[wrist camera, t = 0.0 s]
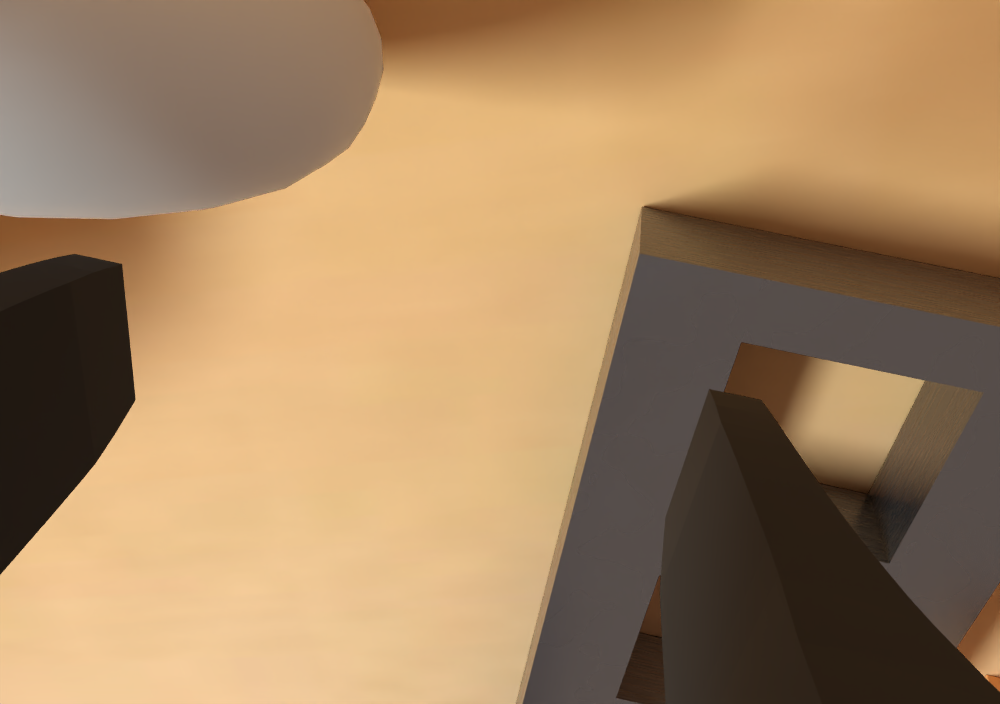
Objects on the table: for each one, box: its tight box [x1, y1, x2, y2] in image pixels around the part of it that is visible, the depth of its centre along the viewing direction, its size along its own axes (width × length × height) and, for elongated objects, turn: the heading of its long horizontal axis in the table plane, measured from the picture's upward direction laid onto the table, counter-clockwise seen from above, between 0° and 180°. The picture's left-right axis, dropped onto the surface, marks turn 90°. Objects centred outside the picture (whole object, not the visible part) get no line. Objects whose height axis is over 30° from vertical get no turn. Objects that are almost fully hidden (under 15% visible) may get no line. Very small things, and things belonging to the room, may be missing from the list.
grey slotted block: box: [516, 207, 1000, 704], centre depth 24 cm, size 22×10×2 cm, turn 172°
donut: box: [0, 0, 383, 219], centre depth 14 cm, size 10×4×10 cm, turn 81°
